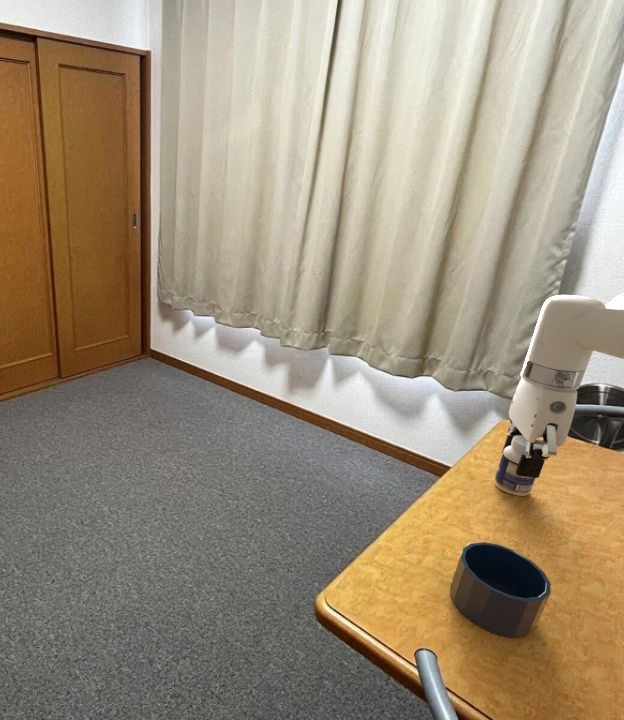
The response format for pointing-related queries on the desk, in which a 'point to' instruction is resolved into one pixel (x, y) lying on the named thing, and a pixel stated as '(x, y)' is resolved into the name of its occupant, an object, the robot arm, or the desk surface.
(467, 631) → the desk surface
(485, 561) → the bowl
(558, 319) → the robot arm
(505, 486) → the pill bottle
